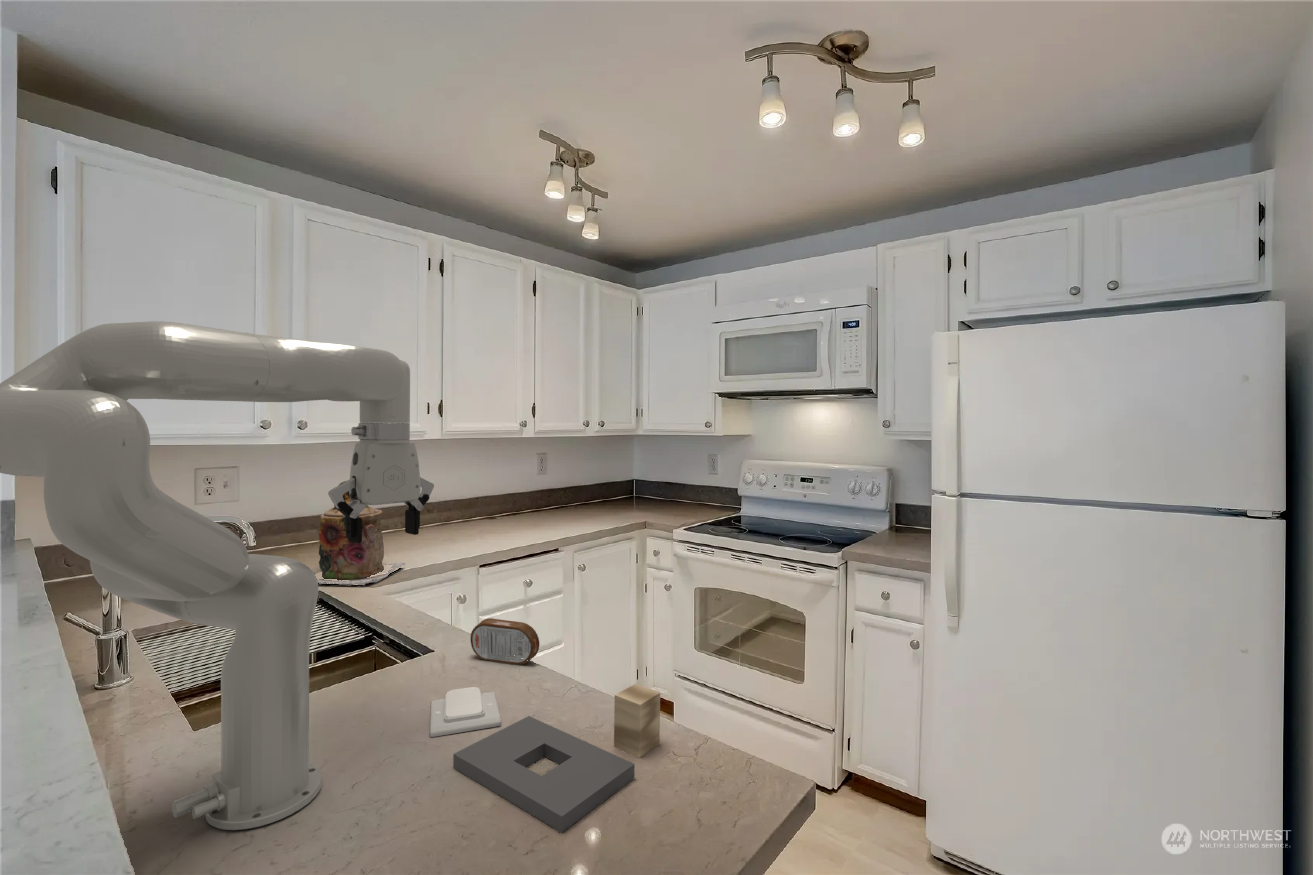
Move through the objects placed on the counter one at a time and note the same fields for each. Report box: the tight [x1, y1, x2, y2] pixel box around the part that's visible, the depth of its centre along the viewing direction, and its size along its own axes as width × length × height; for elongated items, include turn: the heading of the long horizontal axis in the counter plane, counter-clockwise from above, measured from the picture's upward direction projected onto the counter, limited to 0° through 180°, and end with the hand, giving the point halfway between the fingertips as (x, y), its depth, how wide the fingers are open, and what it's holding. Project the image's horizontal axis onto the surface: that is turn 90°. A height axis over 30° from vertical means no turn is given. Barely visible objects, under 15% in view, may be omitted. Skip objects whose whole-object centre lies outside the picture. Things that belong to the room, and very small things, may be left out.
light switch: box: [429, 686, 502, 738], centre depth 99 cm, size 11×4×13 cm
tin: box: [469, 617, 540, 666], centre depth 122 cm, size 15×3×8 cm, turn 74°
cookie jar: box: [317, 480, 406, 586], centre depth 187 cm, size 25×25×32 cm
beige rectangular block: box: [613, 683, 661, 759], centre depth 90 cm, size 5×5×8 cm
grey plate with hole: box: [452, 715, 636, 834], centre depth 83 cm, size 14×22×2 cm, turn 53°
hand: (384, 537), depth 96 cm, fingers open, 9 cm apart
